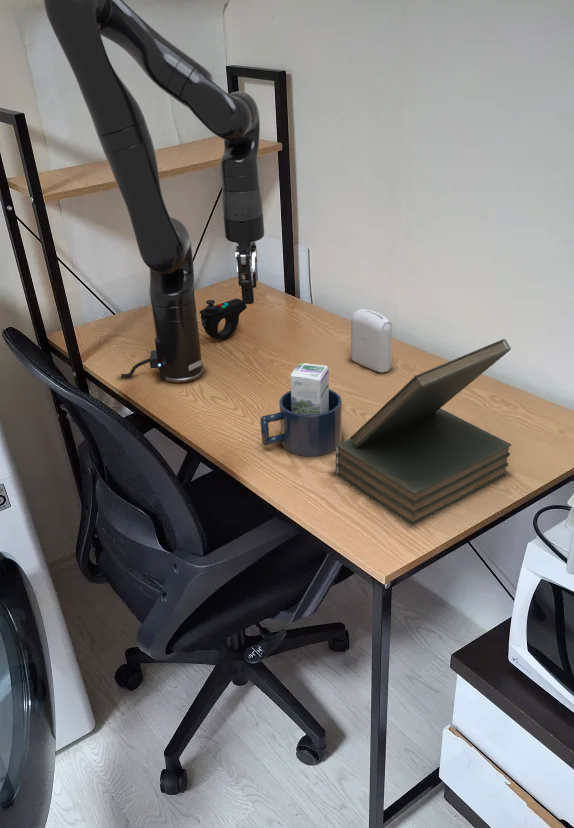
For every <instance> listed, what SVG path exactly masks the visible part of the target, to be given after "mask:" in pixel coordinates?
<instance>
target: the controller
mask: <svg viewBox="0 0 574 828" xmlns="http://www.w3.org/2000/svg"><path fill="white" fill-rule="evenodd" d="M205 303H206V305H207V306H206V307H205V308H203V309H201V310H199V315H200V322H201V327H203V330H204V332H205V333H206V335H208V336H209V337H210V338H212V339H214V340H217V341H224V340H227V339H228V338H230V337H231V336H233V334H235V332H236V330H237V328H238V326H239V323H240V315H241V314H242V313H243V312H244V311H245V310H246V309H247V304H243V302H242V299H240V298H233V299H230V300H227V301H225V302H222V303H217V304H216V301H215V300H214V299H208V300H206V301H205ZM215 304H216V305H215ZM222 320H224V326H223V328H222V329H221V330H220V331H219V325H220V322H221V321H222Z"/></svg>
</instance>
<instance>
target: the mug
mask: <svg viewBox="0 0 574 828" xmlns="http://www.w3.org/2000/svg"><path fill="white" fill-rule="evenodd" d="M342 402H343V400H342V397H341V395H339V393H337V392H336V391H335V390H333V389H330V388H329V412H326V413H323V414H318V415H300V414H296V413H292V402H291V390H289V391H286V392H285V393H284V394H283V395H281V397H280V399H279V412H276V413H275V412H274V413H271V414H266V415H262V416H261V417H260V420H259V421H260V432H261V433H260V435H261V444H262V446H264V447H265V446H270V445H274V444H278V443H281V445H282V447H283V449H285V450H286V451H287V452H289V453H291V454H293V455H296V456H301V457H320V456H321V457H322V456H324V455H327V454H330V453H333V452H335V451H336V445H337V444H339V443H342V439H343V437H342V432H343V431H342V430H343V429H342V428H343V427H342V423H343V422H342V421H343V420H342V419H343V403H342ZM278 421H279V422H280V423H279V424H280V434H277V435H276V434H275V435H272V436H270V428H269V423H275V422H278Z"/></svg>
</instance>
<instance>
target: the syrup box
mask: <svg viewBox="0 0 574 828" xmlns="http://www.w3.org/2000/svg"><path fill="white" fill-rule="evenodd" d="M329 389H330V369H329V365H323V364H316V363H306V362H299V363H298V364H297V365H296V366H295V368H294V369H293V370H292V372H291V374H290V391H291V402H292V413H296V414H300V415H318V414H323V413H326V412H329Z"/></svg>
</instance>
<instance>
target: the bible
mask: <svg viewBox="0 0 574 828" xmlns="http://www.w3.org/2000/svg"><path fill="white" fill-rule="evenodd" d="M511 350H512V347H511V346H510V345H509V343H508V341H507V340H506V339H505V338H503V339H499V340H498V341H496V342H495V341H494V343H490V344H489V345H486V346H483V347H481V348H479V349H476V350H473V351H472V352H469V353H466V354H464V355H462V356H459V357H457V358H455V359H452V360H450V361H447V362H445V363H442V364H439V365H438V366H435V367H433V368H431V369H428V370H426V371H423V372H421V373H418V374H416V375H414V377H412V379H410V380H409V381H408V382H407V383H406V384H405V385H404V386H403V387H402V388H401V389H400V390H399V391H398V392H397V393H396V394H395V395H393V396H392V398H390V399H389V400H388V401H387V402H386V403H385V404H384V405H383V406H382V407H381V408H379V410H377V412H376V413H375V414H374V415H373V416H371V417H370V418H369V419H368V420H367V421H366V422H364V424H363V425H362V426H361V427H360V428H359V429H357V430H356V432H354V433H353V434H352V436H350V438H349V439H346V440H344V441H341V443H339V444H337V445H336V450H335V475H336V476H338V477H339V478H341V479H342V480H344V481H345V482H347V483H348V484H350V485H351V486H353V487H354V488H356V489H357V490H359V491H361V492H362V493H364V494H365V495H366V496H367V497H369V498H371V499H372V500H374V501H375V502H377V503H378V504H380V505H381V506H383V507H384V508H386V509H387V510H389V511H391V512H392V513H393V514H395V515H396V516H398V517H399V518H401V519H402V520H404V521H405V522H407V523H408V524H410V525H411V526H413V525H416V524H418V523H419V522H421V521H423V520H425V519H427V518H429V517H431V516H433V515H434V514H436V513H438V512H440V511H442V510H444V509H446V508H448V507H449V506H451V505H453V504H455V503H456V502H459V501H461V500H462V499H464V498H466V497H468V496H470V495H472V494H473V493H475V492H477V491H480V490H481V489H483V488H484V487H487V486H489V485H490V484H493V483H494V482H496V481H498V480H500V479H501V478H503V477H506V476H507V475H508V473H507V472H506V470H507V467H509V465H510V464H509V463H508V457H510V456H511V453H510V452H509V450H510V447H511V446H512V443H510V442H508V441H506V440H504V439H502V438H500V437H498V436H496V435H494V434H492V433H490V432H489V431H486V430H485V429H482V428H480V427H479V426H476V425H475V424H473V423H470V422H468V421H466V420H465V419H463V418H460V417H458V416H457V415H455V414H452V413H451V412H449V411H447V410H444V409H442V407H444V406H445V405H446V404H448V402H449V401H451V400H453V398H455V397H456V396H457V395H458V394H459V393H461V392H462V391H463V390H465V388H467V387H468V386H469V385H470V384H472V383H473V382H474V381H475V380H476V379H477V378H479V377H480V376H481V375H483V374H484V373H485V372H486V371H487V370H489V369H490V368H491V367H492V366H493V365H494V364H495V363H497V362H498V361H499V360H501V358H503V357H504V356H505V355H506V354H507V353H509V352H510V351H511Z"/></svg>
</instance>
